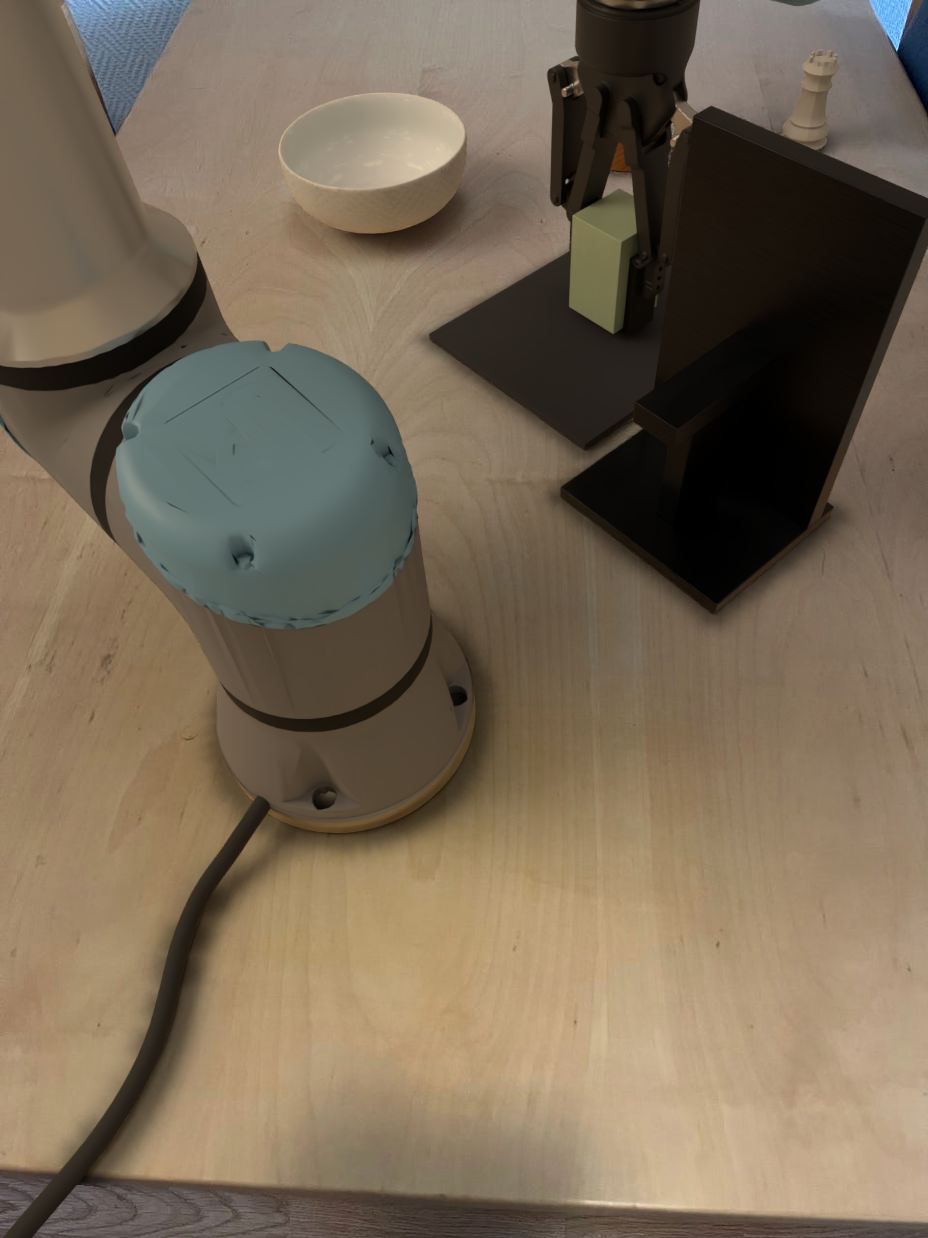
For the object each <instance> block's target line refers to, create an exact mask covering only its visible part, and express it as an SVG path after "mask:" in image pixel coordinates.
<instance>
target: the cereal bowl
mask: <svg viewBox="0 0 928 1238" xmlns="http://www.w3.org/2000/svg"><path fill="white" fill-rule="evenodd" d="M467 149H468V137H467V129H466V126H465V123H464V122H463V120H462V119H461V117H460V116H459V115H458V114H457V113H456V112H455V111H454V110H453V109H451V108H449V107H448V106H446V105H445V104H442V103H441V102H438V101H437V100H434V99H431V98H428V97H425V96H421V95H417V94H410V93H404V92H367V93H359V94H353V95H348V96H345V97H340V98H337V99H334V100H330V101H327V102H325V103H322V104H319V105H317V106H315V107H314V108H312V109H310V110H308V111H306V112H304V113H303V114H301V115H300V116H299V117H297V118H296V119H295V120H294V121H293V122H291V123H290V124H289V126H288V127H287V128H286V129H285V130H284V132H283V134H282V136H281V137H280V139H279V143H278V150H277V151H278V159H279V164H280V167H281V172H282V175H283V179H284V181H285V183H286V187H287V188H288V189H289V192H290V194H291V195H292V197H293V199H294V201H295V202H297V205H298V206H300V207H301V208H302V210H303V211H305V212H306V213H307V214H308V216H310V217H312V218H314V219H315V220H317V221H319V222H320V223H321V224H324V225H325V226H328V227H331V228H333V229H337V230H339V231H345V232H348V233H356V234H373V235H374V234H386V233H392V232H397V231H401V230H405V229H408V228H411V227H414V226H417V225H418V224H420V223H423V222H425V221H427V220H429V219H431V218H432V217H433V216H435V215H437V213H439V212H440V211H442V210H443V208H444V207H446V206H447V204H448V203H449V202H450V201H451V200H452V198H453V197H455V194H456V192H457V191H458V189H459V187H460V185H461V183H462V180H463V177H464V174H465V168H466V163H467V157H468V153H467Z"/></svg>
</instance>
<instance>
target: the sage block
mask: <svg viewBox="0 0 928 1238" xmlns="http://www.w3.org/2000/svg"><path fill="white" fill-rule="evenodd" d="M638 253H639V250H638V240H637V229H636V218H635V208H634V197H633V194H631V193H629V192H627V191H625V190H623V189H621V188H617V189H616V190H614V191H612V192H610V193H609V194H607V195H605V196H603V197H602V199H600V200H598V201H597V202H595V203H593V204H591V205H590V206H588V207H586V208H584V209H583V210H581V211H579V212H577V213H576V214H574V215H573V217H572V243H571V269H570V295H569V307H570V308H572V309H574V310H575V311H577V312H578V313H580V314H582V315H583V316H585V317H586V318H588V319H590V320H591V321H593V322H595V323H596V324H598V325H599V326H601V327H603V328H604V329H606V330H607V331H609V332H611V333H612V334H614V333H616V332H617V331H619V330H620V329H622V328H623V323H624V313H625V303H626V293H627V283H628V273H629V262H630V258H631V257H633V256H634V255H636V254H638ZM657 297H658V295H656V298H655V306H654V307H656V305H657Z"/></svg>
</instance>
